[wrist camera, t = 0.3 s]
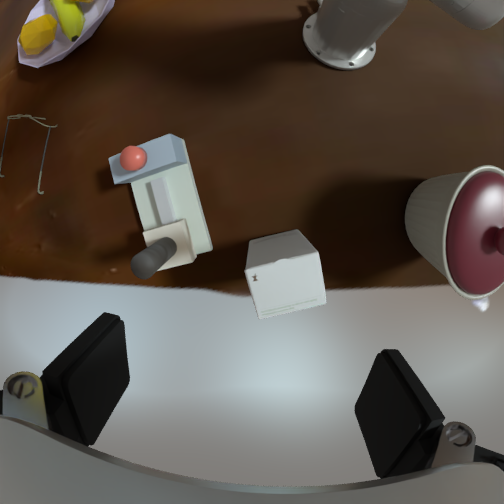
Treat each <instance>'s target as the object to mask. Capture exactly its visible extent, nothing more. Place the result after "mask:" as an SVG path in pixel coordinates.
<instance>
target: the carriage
mask: <svg viewBox="0 0 504 504" xmlns="http://www.w3.org/2000/svg"><path fill="white" fill-rule="evenodd" d="M143 235H144V238H145V242H146V245H147V248H146V249H144V250H143V251H141V252H140V253H138V254H137V255H135V256H134V257H133V258H132V260H131V269H132V272H133V273H134V275H135V276H137V277H138V278H140V279H148V278H150V277H151V276H152V275H153V274H154V273H155V272H156V271H159V270H163V269H167V268H171V267H176V266H180V265H184V264H188V263H192V262H193V261H194V260H195V259H196V257H197V255H196V252H195V249H194V245H193V242H192V239H191V235H190V232H189V228H188V225H187V221H186V218H185V219H184V218H183V219H179V220H177V221H175V222H171V223H168V224H165V225H159V226H156V227H154V228H151V229H149V230H147V231H145V232H143Z"/></svg>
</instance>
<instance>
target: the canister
mask: <svg viewBox="0 0 504 504" xmlns="http://www.w3.org/2000/svg"><path fill="white" fill-rule="evenodd" d="M405 225H406V231H407V235H408V237H409V239H410V242H411V243H412V244H413V246H414V248H415V249H416V250H417V251H418V252H419V253H420V254H421V255H422V256H423V257H424V258H425V259H426V260H428V261H429V262H430V263H431V264H432V265H433V266H434V267H435V268H436V269H438V270H439V271H440V272H441V273H442V274H443V275H444V276H445V277H446V278H447V279H448V281H449V283H450V285H451V287H452V288H453V289H454V290H455V292H457V293H458V294H459V295H460V296H462V297H464V298H467V299H470V300H478V299H482V298H485V297H488V296H489V295H491V294H493V293H494V292H495V291H496V290H498V289H499V288H500V287H501V286H502V285H503V284H504V171H503V170H501V169H500V168H498V167H495V166H491V165H483V166H479V167H476V168H474V169H473V170H471V171H470V172H463V173H455V174H449V175H443V176H438V177H434V178H430V179H428V180H426V181H423V182H422V183H421V184H419V185H418V186H417V188H415V189H414V191H413V193H412V194H411V196H410V198H409V199H408V203H407V205H406V210H405Z"/></svg>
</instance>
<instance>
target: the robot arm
mask: <svg viewBox="0 0 504 504" xmlns="http://www.w3.org/2000/svg"><path fill="white" fill-rule="evenodd" d="M407 1H408V0H317V2H318V4H319V5H320V6H319V9H318V12H317V13H315V14H313V15H311V16H310V17H309V18H308V19H307V20H306V22H305V24H304V27H303V33H302V35H303V40H304V43H305V46H306V47H307V49H308V50H309V52H310V53H311V54H312V55H313V56H314V57H315V58H317V59H318V60H319V61H321V62H322V63H324V64H326V65H328V66H330V67H333V68H336V69H340V70H355V69H360V68H362V67H364V66H365V65H367V64H368V63H369V62H370V61H371V60H372V58H373V57H374V55H375V51H376V44H375V41H376V40H377V39H378V38H379V37H380V36H381V35H382V33H383V32H384V31H385V30H386V29H387V28H388V27H389V26H390V25H391V24H392V22H393V21H394V20H395V19H396V18H397V17H398V16H399V15H400V14H401V13H402V11H403V10H404V9H405V7H406V4H407ZM429 1H431V2H432V3H434V4H435V5H437V6H438V7H440V8H441V9H442V10H444V11H445V12H446V13H448V14H449V15H451V16H452V17H453V18H455V19H456V20H457V21H459V22H460V23H462V24H463V25H465V26H467V27H469V28H471V29H475V30H483V29H487V28H489V27H491V26H493V25H494V24H496V23H497V22H498V21H499V20H501V19H502V18H503V17H504V0H429ZM318 54H319V55H318ZM350 65H351V66H350ZM129 381H130V375H129V367H128V358H127V350H126V339H125V327H124V322H123V321H122V320H120V317H119V316H118V315H114V314H110V313H106V312H104V313H103V314H102V315H101V316H99V317H98V318H97V319H96V320H95V321H94V322H93V323H92V324H91V325H90V326H89V327H88V328H87V329H86V330H84V331H83V332H82V333H81V334H80V335H79V336H78V337H77V338H76V339H75V340H74V341H73V342H72V343H71V344H70V345H69V346H68V347H67V348H66V349H65V350H63V351H62V353H61V354H59V355H58V356H57V357H56V358H55V359H54V361H52V362H51V363H50V364H49V365H48V366H47V367H46V368H45V369H44V370H43V375H42V376H41V377H40V378H39V377H38V376H37V375H35V374H33V373H30V372H17V373H15V374H12V375H11V376H9V377H8V378H7V379H6V381H5V382H4V386H3V390H0V504H504V455H502V454H499V453H496V452H493V451H491V450H488V449H485V448H483V447H480V446H477V445H475V442H476V437H475V434H474V432H473V431H472V429H471V428H470V427H469V426H467V425H466V424H464V423H461V422H450V423H448V424H446V425H445V426H444V425H443V423H442V422H443V421H444V419H445V417H444V415H443V414H442V412H441V411H440V409H439V407H438V406H437V404H436V403H435V402H434V400H433V399H432V397H431V396H430V394H429V393H428V391H427V390H426V388H425V387H424V386H423V384H422V383H421V381H420V380H419V378H418V377H417V375H416V374H415V373H414V371H413V370H412V368H411V367H410V366H409V364H408V363H407V361H406V360H405V359H404V357H403V356H402V355H401V353H400V352H399V351H398V350H396V349H384V350H382V351H381V353H378V354H377V356H376V358H375V361H374V363H373V366H372V368H371V371H370V373H369V375H368V378H367V380H366V382H365V385H364V387H363V389H362V391H361V394H360V396H359V398H358V400H357V402H356V404H355V414H356V417H357V420H358V423H359V426H360V429H361V431H362V434H363V437H364V440H365V443H366V446H367V449H368V452H369V455H370V458H371V461H372V464H373V467H374V470H375V473H376V475H377V476H378V477H380V478H381V479H377V480H371V481H365V482H358V483H349V484H339V485H327V486H307V487H306V486H304V487H277V486H276V487H275V486H274V487H273V486H255V485H243V484H233V483H224V482H217V481H210V480H204V479H198V478H193V477H187V476H182V475H178V474H173V473H169V472H164V471H160V470H156V469H153V468H149V467H145V466H142V465H139V464H135V463H132V462H129V461H126V460H123V459H120V458H117V457H114V456H111V455H108V454H106V453H103V452H100V451H98V450H95V449H92V448H90V447H88V446H89V445H93V444H94V443H95V441H96V440H97V438H98V436H99V434H100V433H101V431H102V429H103V427H104V426H105V424H106V422H107V420H108V419H109V417H110V415H111V413H112V412H113V410H114V408H115V407H116V405H117V403H118V402H119V400H120V398H121V396H122V395H123V393H124V391H125V390H126V388H127V386H128V384H129Z"/></svg>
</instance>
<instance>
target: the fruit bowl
mask: <svg viewBox="0 0 504 504" xmlns="http://www.w3.org/2000/svg"><path fill="white" fill-rule="evenodd" d="M114 2H115V0H40V1H39V2H38V3H37V5H36V6H35V7H34V8H33V9H32V10H31V12H30V14H29V16H28V18H27V20H26V22H25V24H24V26H23V28H22V30H21V33H20V35H19V38H18V40H17V41H18V56H19V63H22V64H25V65H29V66H32V67H36V68H39V67H42V66H45V65H48V64H51V63H54V62H57V61H60V60H62V59H63V58H65V57H66V56H67V55H68V54H69V53H71V52H72V51H73V50H74V49H76V48H77V47H78V46H79V45H81V44H82V43H83V42H85V41H86V40H87V39H89V38H90V37H91V36H92V35H93V33H94V32H95V30H96V29H97V28H98V26H99V25H100V23H101V22H102V21H103V19H104V18H105V17H106V15H107V14H108V13H109V11H110V10H111V9H112V8H113V6H114Z"/></svg>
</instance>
